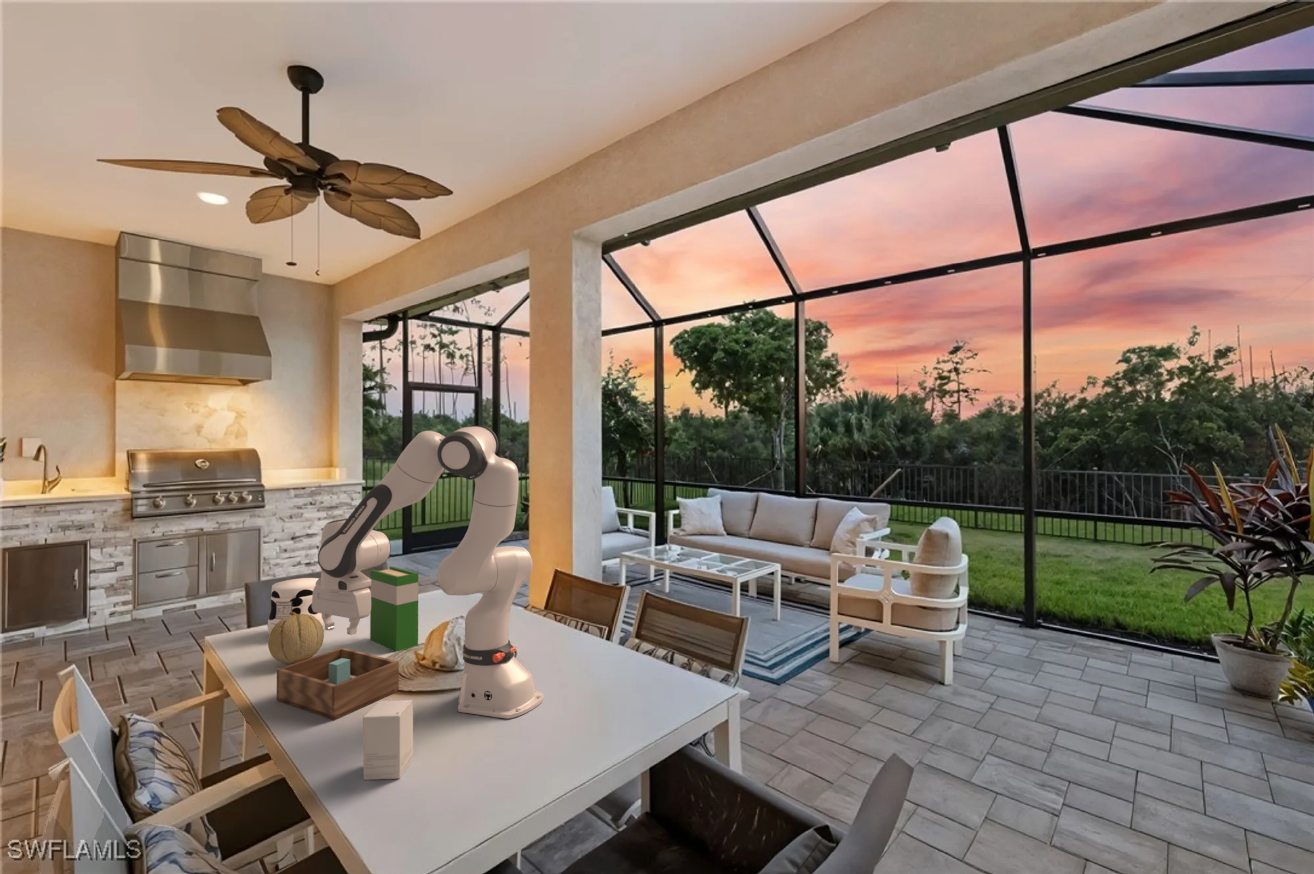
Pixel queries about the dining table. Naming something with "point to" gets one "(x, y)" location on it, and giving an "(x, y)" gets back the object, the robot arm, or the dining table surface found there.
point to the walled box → (315, 694)
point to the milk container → (292, 600)
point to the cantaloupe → (295, 638)
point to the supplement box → (388, 739)
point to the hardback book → (394, 608)
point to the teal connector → (339, 671)
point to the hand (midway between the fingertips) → (340, 631)
